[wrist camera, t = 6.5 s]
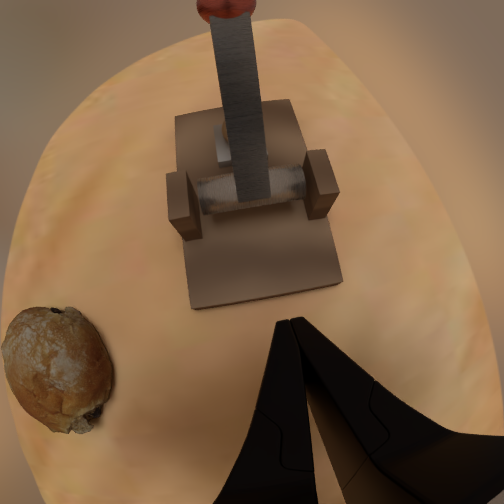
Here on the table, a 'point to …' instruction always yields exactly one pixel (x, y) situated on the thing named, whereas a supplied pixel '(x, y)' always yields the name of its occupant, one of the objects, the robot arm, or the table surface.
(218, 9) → the lever
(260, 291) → the base
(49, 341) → the bread roll
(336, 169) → the table surface
